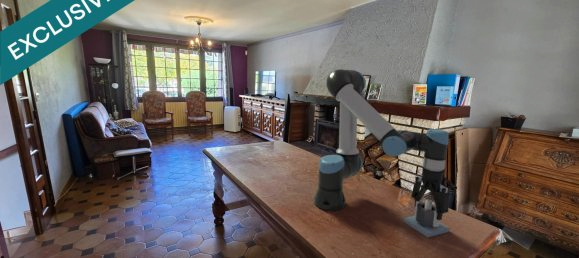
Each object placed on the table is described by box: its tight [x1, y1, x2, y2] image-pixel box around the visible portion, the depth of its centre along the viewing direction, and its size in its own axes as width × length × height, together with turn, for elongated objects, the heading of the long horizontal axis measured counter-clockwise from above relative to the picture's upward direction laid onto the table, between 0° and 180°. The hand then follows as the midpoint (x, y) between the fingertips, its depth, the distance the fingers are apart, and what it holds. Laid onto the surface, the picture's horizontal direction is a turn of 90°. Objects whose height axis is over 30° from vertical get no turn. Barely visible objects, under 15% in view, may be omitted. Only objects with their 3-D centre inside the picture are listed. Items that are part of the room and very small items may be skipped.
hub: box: [414, 202, 437, 227], centre depth 103 cm, size 8×8×6 cm
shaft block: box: [403, 199, 451, 238], centre depth 103 cm, size 12×12×12 cm
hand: (426, 220), depth 103 cm, fingers closed on hub, 8 cm apart
